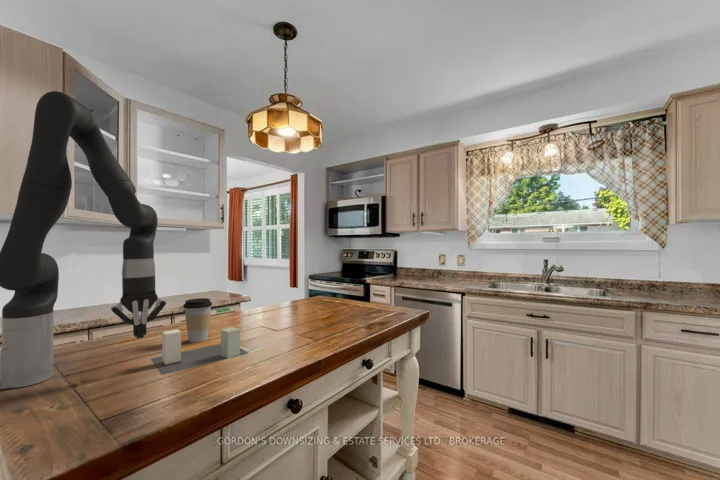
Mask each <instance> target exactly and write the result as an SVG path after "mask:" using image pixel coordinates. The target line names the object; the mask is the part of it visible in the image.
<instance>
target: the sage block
mask: <svg viewBox="0 0 720 480" xmlns="http://www.w3.org/2000/svg"><path fill="white" fill-rule="evenodd" d="M240 340H241V329H240V328H237V327H234V326H232V327H228V328H224V329H221V330H220V344H221V356H223V357H226V358H229V359H232V358H231V357H233V358H235V357H234V356H237V355H240V348H241V341H240ZM237 357H238V356H237Z"/></svg>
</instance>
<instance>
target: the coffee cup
mask: <svg viewBox="0 0 720 480" xmlns="http://www.w3.org/2000/svg"><path fill="white" fill-rule="evenodd" d="M212 305H213V302H212V301H211V299H210V298H207V297H202V298H192V299H188V300H187V299H186V300H185V303H184V304H183V305H182V308H183V309H184V312H185V314H184V315H185V325H186V330H187V331H186V332H187V337H188V338H187V339H188V342H189V343H194V344H196V343H201V342H205V341H207V340H208V338H209V337H208V335H209V329H210V324H211V323H210V321H211V308H212Z"/></svg>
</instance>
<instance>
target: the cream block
mask: <svg viewBox="0 0 720 480" xmlns="http://www.w3.org/2000/svg"><path fill="white" fill-rule="evenodd" d="M161 334H162V335H161V336H162V346H161V347H162V349H161V350H162V355H161V356H162V363H163V364H164V365H165V366H169V365H173V364H178V363H181V352H182V331H181V330H179V329H178V328H177V329H171V330H165V331H162V333H161Z"/></svg>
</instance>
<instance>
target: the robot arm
mask: <svg viewBox="0 0 720 480" xmlns="http://www.w3.org/2000/svg"><path fill="white" fill-rule="evenodd" d="M32 129H33V131H32V136H31V137H32V139H31V143H30V149H29V152H28V153H29V154H28V157H27V161H26V166H25V170H24V173H23V177H22V180H21V184H20V186H19V191H18V194H17V200H16V204H15V209H14V211H13V214H12V218H11V221H10V225H9V229H8V232H7V235H6V238H5V240H4V242H3V245H2V247H1V249H0V287H1V288H2V289H4V290H7V291H14V294H13V296H12V298H10V300H9V301H8V302H7V303H5V304H4V305H3V307H2V311H1V349H0V390H5V389H16V388H23V387H28V386H29V387H30V386H32V385H36V384H39V383H43V382H45V381H47V380H49V379H50V378H53V376H54V306H55V303H56V302H57V299H58V294H59V280H60V279H59V277H60V274H59V272H60V271H59V265H58V263H57V261H56V259H55V258H54V257H53V256H51V255H50V254H49V253H45V252H42V251H43V246H44V243H45V240H46V238H47V235H48V234H49V232H50V231H51V230H52V228H53V227H54V225H55V224H56V223H57V222H58V221H59V220H60V218H61V217H62V215H63V214H64V212H65V211H66V208H67V206H68V203H69V200H70V195H71V193H72V192H71V191H72V186H73V182H72V174H71V170H70V165H69V161H68V156H67V154H68V153H67V151H68V149H67V147H68V143H69V140H70V138H71V139H72V140H73V141H74V142H75V143H76V144H77V145H78V147H79V148H80V149H81V150H82V152H83V154H84V155H85V157H86V159H87V163H88V167H89V171H90V173H91V175H92V177H93V179H94V180H95V181H96V183H97V185H98V186H99V187H100V189H101V191H102V192H103V194H104V195H105V196H106V197H107V199H108V202H109V205H110V207H111V210H112V212H113V213H112V214H113V215H114V217H115V218H116V220H117V221H118V222H119V223H120V224H121V225H123V226H124V227H126V228H129V229H130V232H129V236H128V237H127V238H125V239H124V241H123V244H122V265H121V278H122V279H121V282H122V283H121V287H122V294H121V295H122V296H121V298H120V300H119V302H118V303H117V304H116V305H113V306H111V307H110V310H111V311H112V313H114V314H115V315H116V316H117V317H118V318H119V319H120V320H122V321H123V322H124V324H126V325H132V330H133V331H132V333H133V336H134V337H135V338H136V339H143V338H145V337H144V336H146V335H147V324H148V322H152V321H154V320H155V319H156V317H157V316H158V315H159V314H160V312H161V311H162V310H163V309H164V307H165V306H166V305H167V303H166V301H165V300H163V299H160V298H158V295H157V293H156V264H155V259H154V258H155V253H154V252H155V250H154V249H155V248H154V247H155V246H154V241H155V238H156V234H157V229H158V215H157V212H156V210H155V209H154V207H152V206H151V205H148V204H144V203H141V202H140V200H139V199H138V198H137V196H136V192H137V190H136V189H137V188H136V187H135V185H134V183H133V182H132V180H131V179H130V177H129V176H128V174H127V172H126V171H125V170H124V169H123V167H122V166H121V164H120V162H119V161H118V159H117V158H116V156H115V155H114V154H113V152H112V150H111V148H110V147H109V145H108V143H107V141H106V139H105V138H104V135H103V133H102V131H101V128H100V126H99V124H98V122H97V120H96V118H95V116H94V114H93V112H92V111H91V110H90V108H88V107H87V106H85V105H84V104H82V103H81V102H79V101H78V100H77V99H75V98H73V97H72V96H71V95H69V94H67V93H64V92H62V91H58V90H53V91H52V90H51V91H48V92H46V93H44V94H43V95H42V96H41V97H40V98H39V100H38V101H37V103H36V107H35V113H34V120H33V127H32ZM153 306H155V307H154V308H153V310H152V311H151V312H150V313H149V310H150V309H151V308H152V307H153ZM123 307H124V308H125V309H126V310H128V312H130V313H131V317H132V318H130V317H128V316H127V315H126V313H123V311H124V308H123Z"/></svg>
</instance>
